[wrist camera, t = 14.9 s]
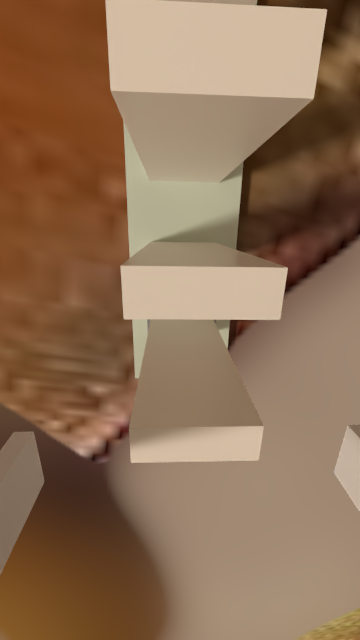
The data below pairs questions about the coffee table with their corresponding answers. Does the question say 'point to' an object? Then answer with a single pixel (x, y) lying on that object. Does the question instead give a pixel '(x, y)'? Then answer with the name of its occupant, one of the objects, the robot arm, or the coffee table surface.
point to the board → (178, 220)
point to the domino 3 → (191, 399)
